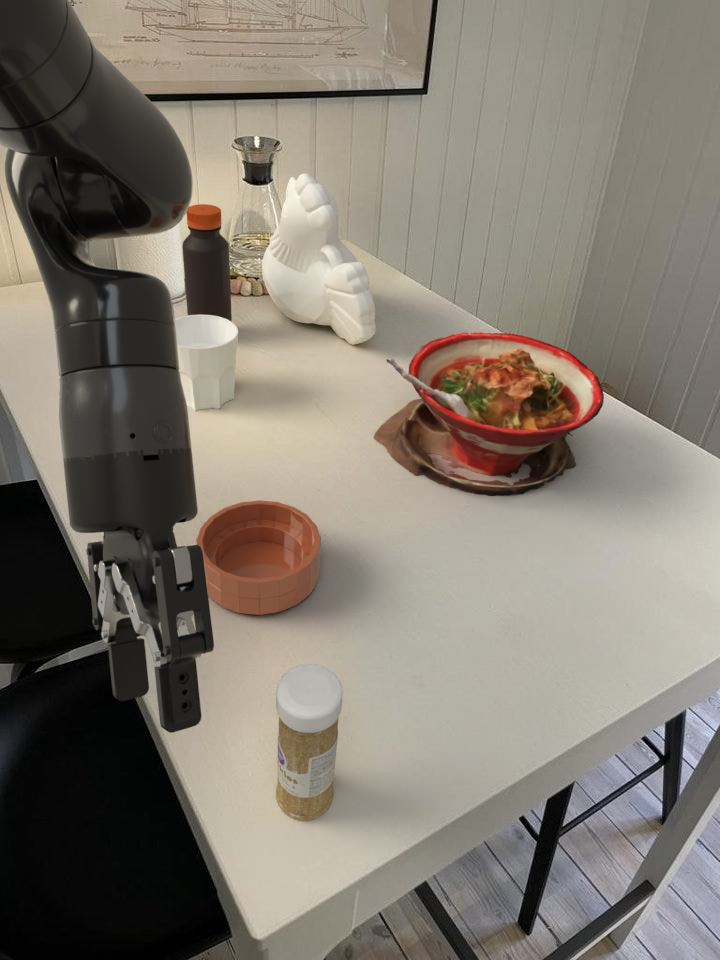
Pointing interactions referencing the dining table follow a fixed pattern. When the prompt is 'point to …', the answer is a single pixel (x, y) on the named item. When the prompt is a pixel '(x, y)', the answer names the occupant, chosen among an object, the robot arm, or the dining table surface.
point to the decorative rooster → (317, 266)
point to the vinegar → (206, 263)
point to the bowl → (260, 556)
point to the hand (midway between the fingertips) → (155, 711)
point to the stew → (491, 410)
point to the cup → (206, 359)
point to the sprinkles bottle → (307, 739)
